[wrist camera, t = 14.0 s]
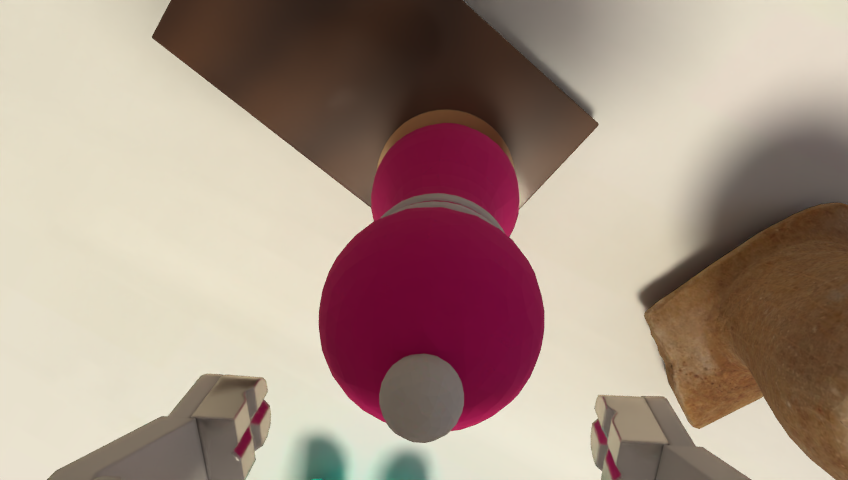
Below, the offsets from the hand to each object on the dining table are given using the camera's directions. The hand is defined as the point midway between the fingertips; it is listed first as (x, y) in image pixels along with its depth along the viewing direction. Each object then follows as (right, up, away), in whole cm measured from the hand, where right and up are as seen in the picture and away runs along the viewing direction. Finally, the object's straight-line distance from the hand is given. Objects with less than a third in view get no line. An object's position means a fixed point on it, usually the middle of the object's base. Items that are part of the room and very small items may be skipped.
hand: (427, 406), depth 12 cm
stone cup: (+20, +1, +19) cm, 28 cm away
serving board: (-3, +13, +16) cm, 21 cm away
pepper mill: (+1, +8, +16) cm, 18 cm away
